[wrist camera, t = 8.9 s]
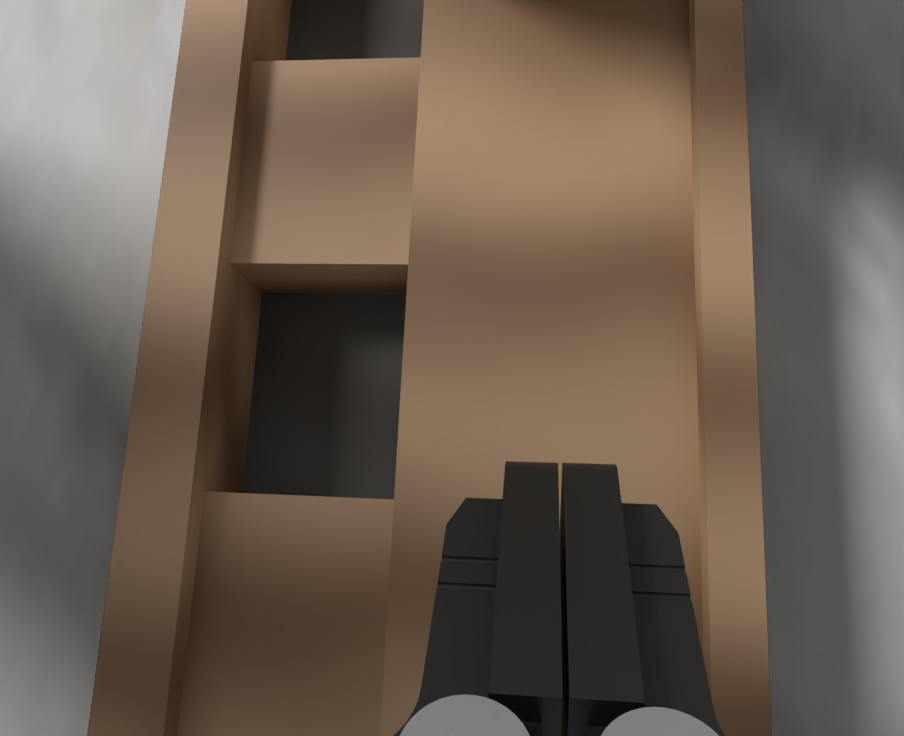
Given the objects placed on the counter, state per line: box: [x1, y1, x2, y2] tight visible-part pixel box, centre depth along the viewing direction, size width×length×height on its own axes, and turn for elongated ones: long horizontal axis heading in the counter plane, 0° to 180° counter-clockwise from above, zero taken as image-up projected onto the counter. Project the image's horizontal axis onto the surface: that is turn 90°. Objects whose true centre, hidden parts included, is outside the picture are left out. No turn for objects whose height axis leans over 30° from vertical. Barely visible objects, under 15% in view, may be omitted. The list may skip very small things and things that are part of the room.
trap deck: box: [87, 0, 772, 736], centre depth 17 cm, size 30×12×6 cm, turn 177°
